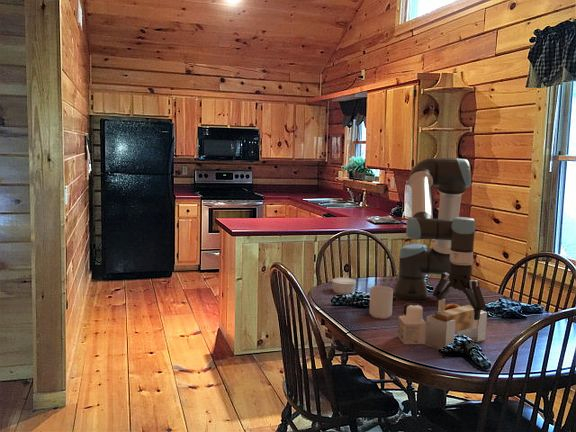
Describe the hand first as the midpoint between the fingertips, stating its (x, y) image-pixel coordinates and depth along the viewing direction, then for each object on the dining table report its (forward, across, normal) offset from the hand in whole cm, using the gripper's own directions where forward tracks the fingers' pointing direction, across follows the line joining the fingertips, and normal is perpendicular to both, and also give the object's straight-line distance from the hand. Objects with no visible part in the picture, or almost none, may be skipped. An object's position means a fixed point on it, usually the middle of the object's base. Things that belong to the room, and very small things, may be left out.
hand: (456, 322), depth 187 cm
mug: (+7, -36, 0) cm, 37 cm away
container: (+7, -10, -12) cm, 17 cm away
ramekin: (+7, -70, +10) cm, 71 cm away
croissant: (+7, -16, +21) cm, 28 cm away
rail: (+2, 0, 0) cm, 2 cm away
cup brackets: (+7, 0, 0) cm, 7 cm away
